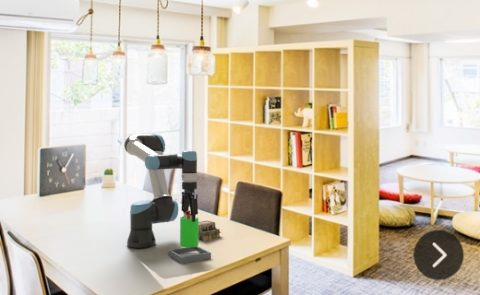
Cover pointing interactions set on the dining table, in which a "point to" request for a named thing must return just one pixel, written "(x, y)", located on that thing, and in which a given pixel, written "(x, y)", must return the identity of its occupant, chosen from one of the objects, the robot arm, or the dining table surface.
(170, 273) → the dining table surface
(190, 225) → the green-shelled ribbed roller
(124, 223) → the dining table surface
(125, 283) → the dining table surface
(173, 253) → the tray
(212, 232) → the miniature house
